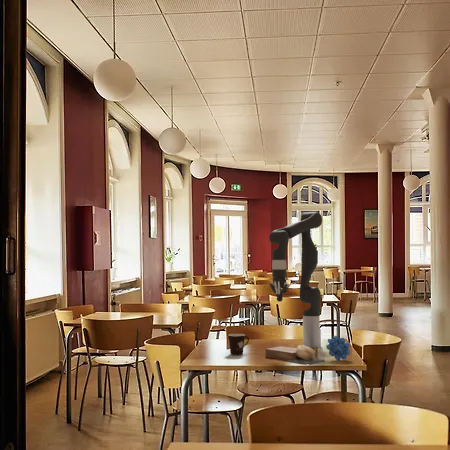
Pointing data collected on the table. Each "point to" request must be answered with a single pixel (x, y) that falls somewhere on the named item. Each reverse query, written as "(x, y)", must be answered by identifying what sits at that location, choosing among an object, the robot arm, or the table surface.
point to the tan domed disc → (305, 352)
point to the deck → (282, 353)
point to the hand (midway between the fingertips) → (279, 301)
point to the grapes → (338, 347)
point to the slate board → (307, 361)
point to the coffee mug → (237, 343)
